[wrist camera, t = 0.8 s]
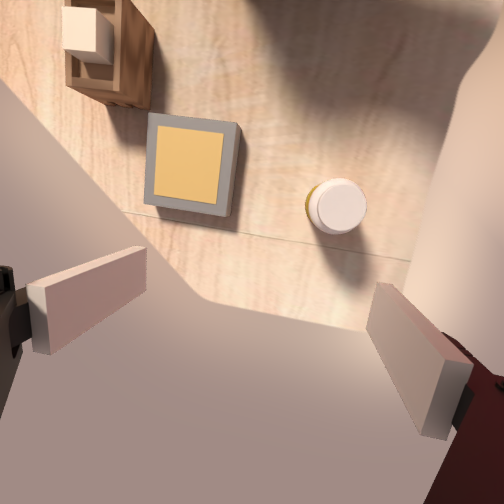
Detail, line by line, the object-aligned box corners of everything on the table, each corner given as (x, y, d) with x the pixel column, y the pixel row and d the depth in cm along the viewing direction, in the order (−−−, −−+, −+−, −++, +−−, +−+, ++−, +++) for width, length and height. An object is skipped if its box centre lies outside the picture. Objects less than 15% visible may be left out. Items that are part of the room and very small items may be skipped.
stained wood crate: (106, 25, 36) (64, -14, 30) (154, 29, 36) (122, -10, 29) (105, 105, 39) (65, 85, 32) (150, 110, 38) (119, 91, 31)
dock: (159, 118, 38) (147, 112, 35) (241, 128, 36) (236, 122, 33) (154, 203, 40) (143, 203, 37) (230, 215, 39) (225, 217, 36)
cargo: (83, 23, 31) (61, 6, 28) (114, 26, 31) (96, 8, 28) (83, 62, 32) (62, 48, 29) (113, 65, 31) (95, 51, 29)
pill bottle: (318, 235, 38) (328, 250, 27) (296, 197, 37) (298, 197, 26) (359, 212, 36) (386, 219, 26) (337, 172, 36) (356, 162, 25)
